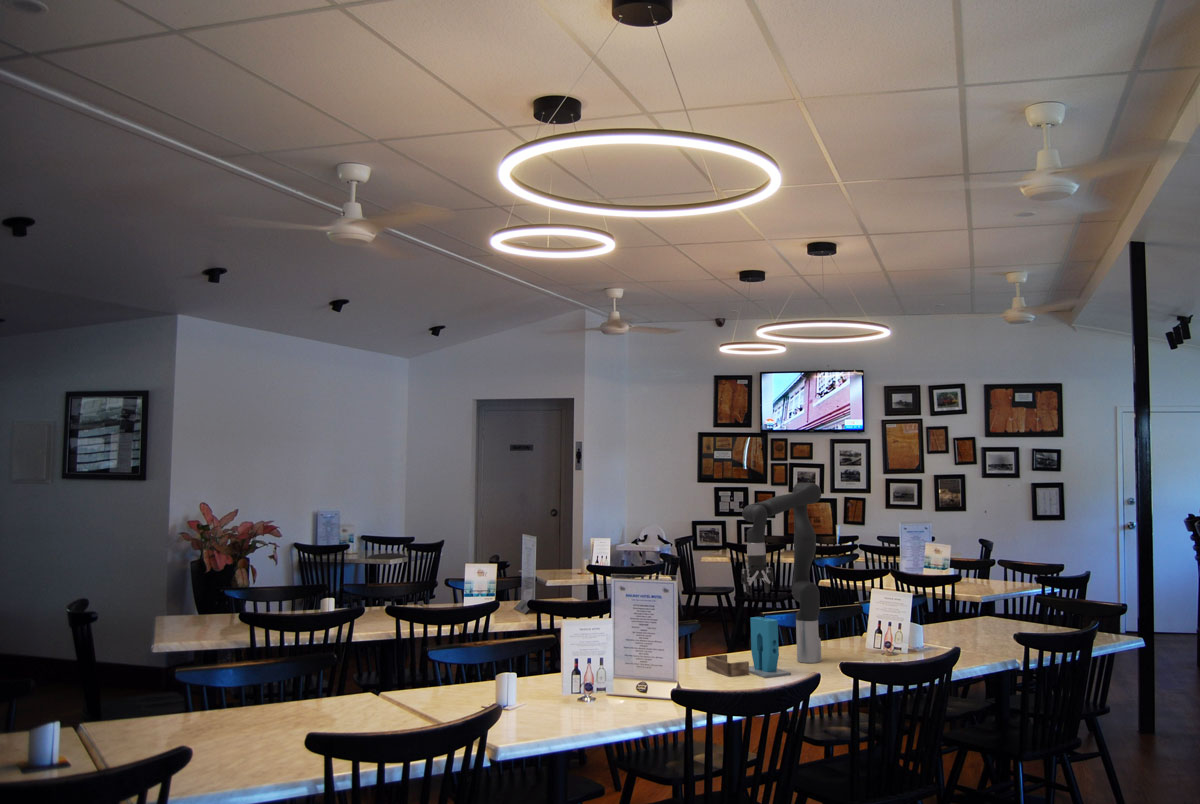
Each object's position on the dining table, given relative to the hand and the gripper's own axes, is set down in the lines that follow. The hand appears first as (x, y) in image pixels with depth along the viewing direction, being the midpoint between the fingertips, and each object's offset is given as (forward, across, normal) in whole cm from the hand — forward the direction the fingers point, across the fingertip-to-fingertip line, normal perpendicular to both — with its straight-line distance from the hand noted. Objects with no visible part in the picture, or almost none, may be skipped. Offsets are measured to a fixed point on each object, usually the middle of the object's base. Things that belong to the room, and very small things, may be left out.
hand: (758, 593), depth 370 cm
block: (+30, +2, +6) cm, 30 cm away
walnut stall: (+30, +14, -2) cm, 33 cm away
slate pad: (+30, +2, +6) cm, 31 cm away
